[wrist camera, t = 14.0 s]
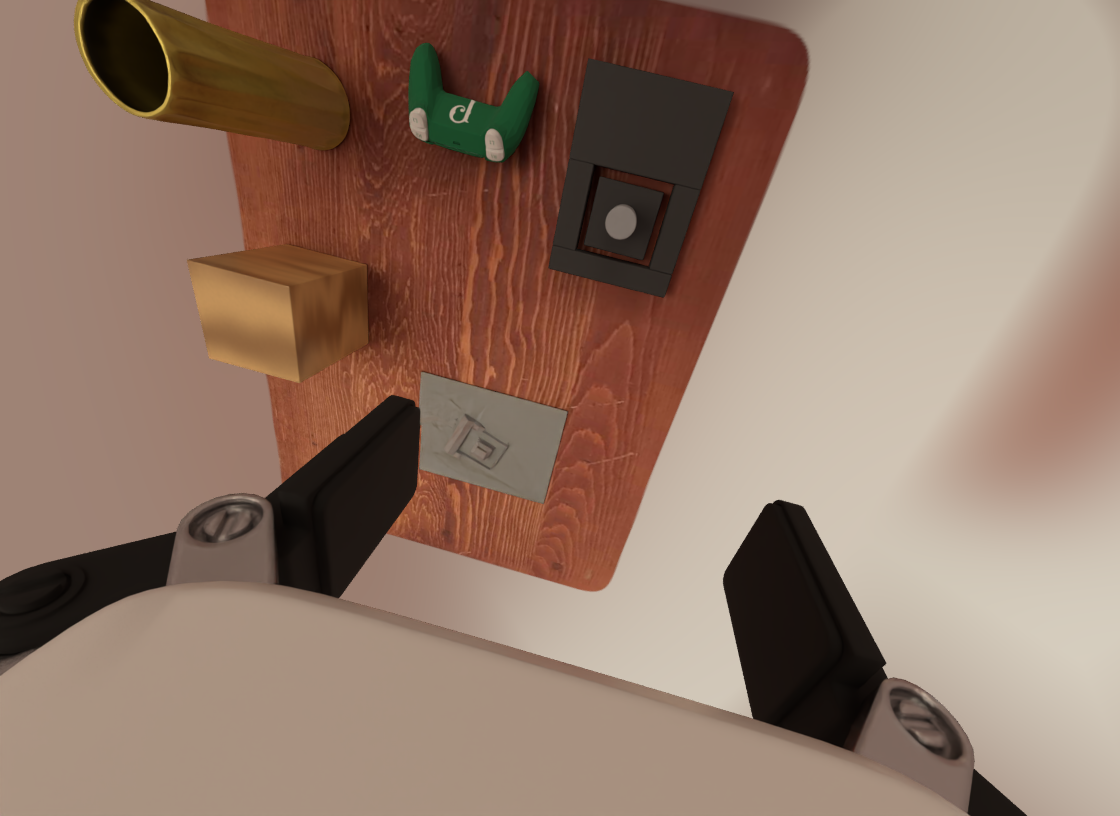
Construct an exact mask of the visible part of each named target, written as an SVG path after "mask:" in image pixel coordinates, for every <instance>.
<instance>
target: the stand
mask: <svg viewBox="0 0 1120 816" xmlns="http://www.w3.org/2000/svg"><path fill="white" fill-rule="evenodd" d="M187 263H188V267H189V272H190V276H191V280H192V285H193V289H194V294H195V297H196V302H197V307H198V311H199V316H200V320H201V324H202V328H203V333H204V337H205V342H206V346H207V351H208V355H209V358H210V359H214V360H217V361H221V362H224V363H228V364H232V365H236V366H239V367H243V368H247V369H250V370H254V371H257V372H261V373H265V374H268V375H272V376H276V377H279V378H283V379H287V380H290V381H294V382H298V383H301V382H303V381H304V380H306V379H308V378H310V377H311V376H313V375H315V374H317V373H318V372H320V371H322V370H323V369H325V368H327V367H329V366H330V365H332V364H334V363H336V362H337V361H339V360H341V359H343V358H344V357H346V356H348V355H349V354H351V353H353V352H355V351H356V350H358V349H360V348H362V347H363V346H365V345H367V344H368V343H369V342H368V292H367V265H366V264H362V263H358V262H355V261H351V260H347V259H343V258H339V257H335V256H331V255H328V254H324V253H320V252H316V251H312V250H308V249H304V248H300V247H297V246H293V245H289V244H284V245H278V246H271V247H265V248H259V249H252V250H246V251H240V252H233V253H227V254H221V255H214V256H208V257H201V258H195V259H189V260H187Z"/></svg>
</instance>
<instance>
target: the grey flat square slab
mask: <svg viewBox="0 0 1120 816" xmlns="http://www.w3.org/2000/svg"><path fill="white" fill-rule="evenodd" d="M419 408H420V411H421V415H420V425H423V426H422V433H421V450H420V467H419V469H421V470H425V471H429V472H432V473H436V474H439V475H443V476H446V477H450V478H453V479H457V480H460V481H464V482H468V483H471V484H475V485H478V486H482V487H485V488H489V489H492V490H496V491H499V492H503V493H506V494H510V495H514V496H517V497H521V498H524V499H528V500H531V501H535V502H538V503H542V504H544V500H545V496H546V492H547V488H548V485H549V481H550V477H551V473H552V469H553V466H554V462H555V458H556V454H557V450H558V447H559V443H560V439H561V435H562V431H563V428H564V424H565V420H566V416H567V411H564V410H560V409H556V408H553V407H549V406H545V405H542V404H538V403H534V402H531V401H527V400H523V399H520V398H516V397H512V396H509V395H505V394H501V393H498V392H494V391H490V390H487V389H483V388H479V387H476V386H472V385H468V384H465V383H461V382H457V381H454V380H450V379H446V378H443V377H439V376H435V375H432V374H428V373H424V372H421V384H420V402H419Z"/></svg>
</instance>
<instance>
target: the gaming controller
mask: <svg viewBox="0 0 1120 816" xmlns="http://www.w3.org/2000/svg"><path fill="white" fill-rule="evenodd" d="M538 89H539V82H538V81H537V80H536V79H535V78H534V77H533V76H532V75H531V74H530V73H529V72H528V71H527V72H525V73H524V74H523V75H522V76H521V77H520V78H519V79H518V80H517V81H516V82H515V83H514V85H513V86H512V88H511V89H510V91H509V93H508V94H507V96H506V98H505V100H504V101H503V103H502V105H501V106H500V107H495V106H492V105H488V104H485V103H481V102H478V101H474V100H471V99H467V98H464V97H460V96H457V95H453V94H450V93H446V92H445V91H443V85H442V77H441V69H440V64H439V60H438V57H437V54H436V51H435V49H434V48H433V46H432V45H431V44H430V43H423V44H421V45H420V46H418V47H417V48H416V50H415V52H414V54H413V57H412V59H411V66H410V75H409V125H410V128H411V131H412V133H413V134H414V135H415V137H416V138H418V139H420V140H421V141H423V142H426V143H429V144H436V145H439V146H441V147H444V148H447V149H450V150H454V151H457V152H461V153H464V154H468V155H471V156H475V157H480V158H483V157H485V159H486V160H487V161H492V162H504V161H505V160H506V159H508V158H509V157H510V156H511V155H512V154H513V153H514V152H515V150H516V148H517V147H518V146H519V144H520V142H521V140H522V138H523V136H524V134H525V132H526V129H527V127H528V124H529V121H530V118H531V115H532V112H533V109H534V106H535V102H536V98H537V94H538Z"/></svg>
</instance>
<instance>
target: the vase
mask: <svg viewBox="0 0 1120 816" xmlns="http://www.w3.org/2000/svg"><path fill="white" fill-rule="evenodd" d="M74 31H75V36H76V41H77V45H78V48H79V51H80V54H81V57H82V59H83V61H84V63H85V66H86V68H87V69H88V71H89V73H90V74H91V76H92V77H93V79H94V80H95V82H96V83H97V84H98V86H99V87H100V88H101V89H102V90H103V92H104V93H105V94H106V95H107V96H108V97H109V98H110V99H111V100H112V101H113V102H114V103H116V104H117V105H118V106H120V107H121V108H123V109H124V110H126V111H127V112H129V113H131V114H133V115H135V116H138V117H142V118H146V119H152V120H158V121H163V122H170V123H177V124H184V125H191V126H198V127H205V128H210V129H216V130H221V131H227V132H232V133H238V134H243V135H248V136H254V137H261V138H267V139H272V140H277V141H282V142H287V143H292V144H298V145H302V146H307V147H310V148H313V149H316V150H330V149H333V148H334V147H336V146H338V145H339V144H340V143H341V142H342V141H343V140H344V138H345V136H346V134H347V131H348V128H349V122H350V108H349V102H348V98H347V95H346V93H345V90H344V88H343V86H342V84H341V82H340V81H339V79H338V77H337V76H336V75H335V74H334V72H333V71H332V70H331V69H330V68H328V67H327V66H326V65H325V64H323V63H322V62H321V61H319V60H318V59H316V58H313V57H308V56H304V55H301V54H298V53H295V52H292V51H289V50H287V49H284V48H281V47H278V46H275V45H272V44H269V43H266V42H263V41H260V40H257V39H254V38H251V37H248V36H245V35H242V34H239V33H236V32H233V31H231V30H228V29H225V28H222V27H219V26H216V25H214V24H211V23H208V22H205V21H202V20H200V19H197V18H195V17H192V16H190V15H187V14H185V13H182V12H179V11H176V10H174V9H171V8H169V7H166V6H163V5H161V4H158V3H155V2H153V1H150V0H78V2H77V5H76V8H75V15H74Z"/></svg>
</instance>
